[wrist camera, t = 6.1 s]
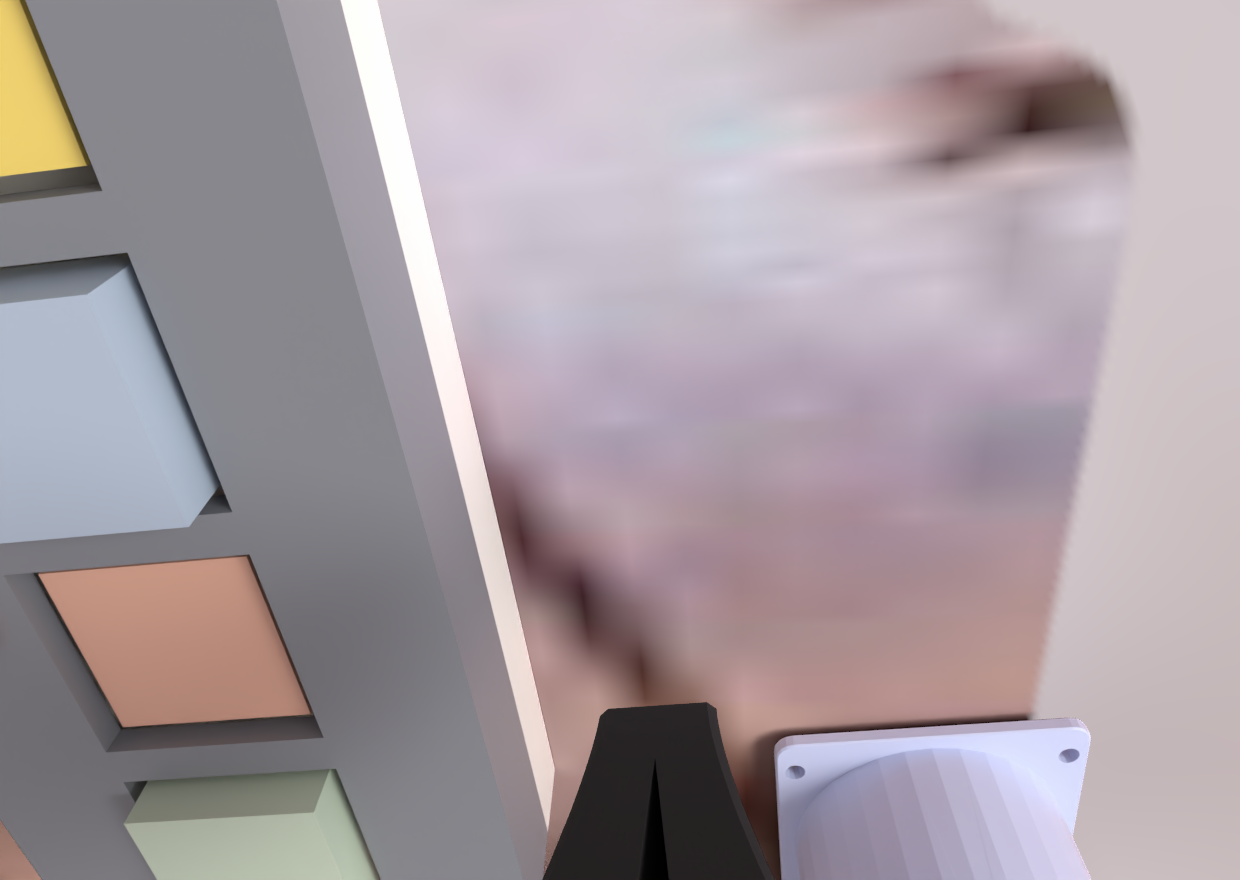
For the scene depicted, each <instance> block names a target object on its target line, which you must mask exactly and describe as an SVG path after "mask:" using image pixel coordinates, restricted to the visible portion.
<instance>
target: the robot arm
mask: <svg viewBox="0 0 1240 880" xmlns="http://www.w3.org/2000/svg"><path fill="white" fill-rule="evenodd" d="M1090 741H1091V736H1090V733H1089V731H1088V729H1087V727H1086V726H1085V724H1084V723H1083V722H1082V721H1080V720H1078V719H1075V718H1058V719H1042V720H1027V721H1011V722H995V723H980V724H964V725H949V726H933V727H918V728H902V729H886V730H871V731H855V732H840V733H824V734H809V735H793V736H788V737H785V738H783V739H781V740H779V741H778V742H777V743H776V745H775V748H774V759H775V777H776V795H777V812H778V830H779V848H780V865H781V880H1092V879H1091V877H1090V875H1089V873H1088V870H1087V868H1086V866H1085V864H1084V861H1083V859H1082V857H1081V855H1080V853H1079V850H1078V848H1077V846H1076V844H1075V842H1074V839H1073V837H1072V836H1073V831H1074V826H1075V820H1076V815H1077V809H1078V805H1079V799H1080V794H1081V789H1082V784H1083V778H1084V773H1085V768H1086V762H1087V757H1088V752H1089V747H1090ZM1066 749H1067V750H1066ZM791 766H796V767H791ZM542 880H775V879H774V877H773V875H772V873H771V871H770V869H769V867H768V864H767V862H766V860H765V857H764V855H763V853H762V850H761V848H760V846H759V843H758V841H757V839H756V836H755V834H754V832H753V829H752V827H751V825H750V822H749V820H748V817H747V815H746V812H745V810H744V807H743V805H742V802H741V799H740V797H739V794H738V791H737V788H736V785H735V782H734V779H733V776H732V774H731V771H730V767H729V764H728V761H727V758H726V754H725V751H724V747H723V743H722V739H721V734H720V730H719V725H718V719H717V711H716V708H714V707H713V706H711V705H710V704H708V703H707V702H705V703H690V704H675V705H660V706H645V707H631V708H616V709H608V710H607V711H605V712H604V713H603V714H602V715H601V716H600V719H599V724H598V728H597V732H596V736H595V740H594V743H593V747H592V750H591V754H590V757H589V760H588V764H587V767H586V770H585V773H584V776H583V779H582V782H581V784H580V787H579V790H578V793H577V795H576V798H575V801H574V804H573V807H572V809H571V812H570V814H569V817H568V819H567V822H566V824H565V827H564V829H563V831H562V834H561V836H560V839H559V841H558V844H557V846H556V849H555V851H554V854H553V856H552V858H551V861H550V863H549V866H548V868H547V870H546V873H545V875H544V877H543V879H542Z"/></svg>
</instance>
